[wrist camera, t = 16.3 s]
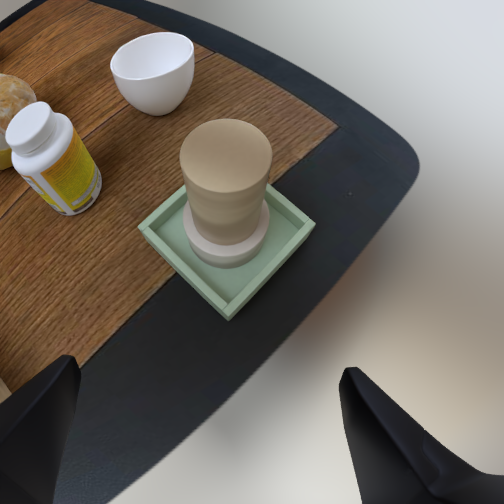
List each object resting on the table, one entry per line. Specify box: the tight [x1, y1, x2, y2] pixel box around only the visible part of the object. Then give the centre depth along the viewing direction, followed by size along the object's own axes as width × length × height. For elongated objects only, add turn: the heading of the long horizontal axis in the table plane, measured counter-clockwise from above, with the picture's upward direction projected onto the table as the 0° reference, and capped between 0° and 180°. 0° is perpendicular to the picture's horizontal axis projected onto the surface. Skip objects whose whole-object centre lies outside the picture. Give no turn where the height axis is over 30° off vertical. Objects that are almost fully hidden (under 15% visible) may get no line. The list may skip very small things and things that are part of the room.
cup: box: [110, 32, 195, 116], centre depth 27 cm, size 8×10×7 cm
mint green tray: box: [138, 183, 316, 321], centre depth 24 cm, size 9×9×3 cm
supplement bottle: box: [5, 102, 102, 215], centre depth 21 cm, size 6×6×10 cm
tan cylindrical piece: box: [180, 119, 272, 269], centre depth 19 cm, size 6×6×10 cm
